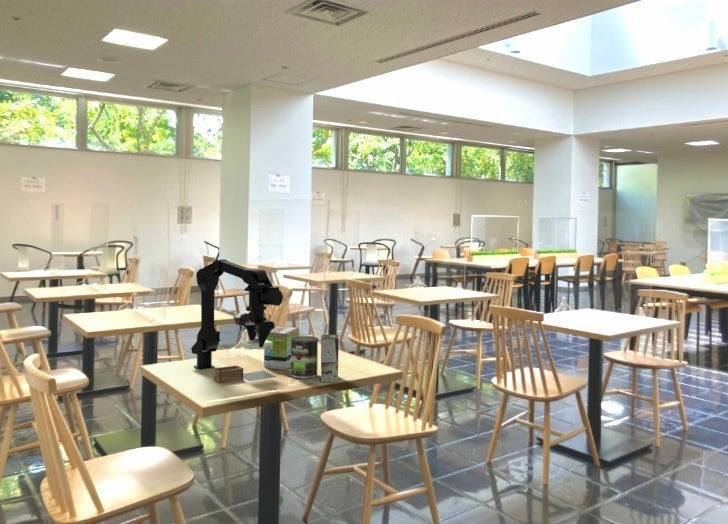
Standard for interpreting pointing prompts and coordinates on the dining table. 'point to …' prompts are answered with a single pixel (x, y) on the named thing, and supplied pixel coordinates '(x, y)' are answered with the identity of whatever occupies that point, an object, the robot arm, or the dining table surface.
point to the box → (228, 374)
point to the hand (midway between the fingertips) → (256, 345)
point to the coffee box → (329, 358)
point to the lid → (255, 344)
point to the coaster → (257, 375)
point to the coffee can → (304, 356)
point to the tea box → (279, 348)
